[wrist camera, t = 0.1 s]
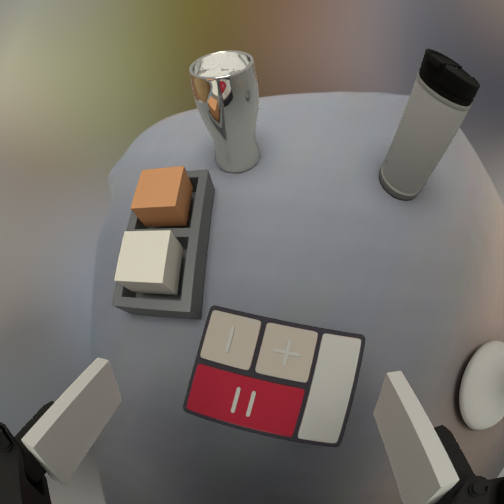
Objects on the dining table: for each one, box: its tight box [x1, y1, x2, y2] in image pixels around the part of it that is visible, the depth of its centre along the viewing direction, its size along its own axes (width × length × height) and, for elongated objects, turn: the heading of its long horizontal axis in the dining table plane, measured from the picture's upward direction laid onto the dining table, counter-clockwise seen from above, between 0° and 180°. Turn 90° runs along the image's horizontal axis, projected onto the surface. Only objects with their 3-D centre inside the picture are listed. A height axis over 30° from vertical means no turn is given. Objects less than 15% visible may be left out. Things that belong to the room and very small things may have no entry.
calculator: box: [183, 306, 365, 447], centre depth 24 cm, size 11×4×15 cm
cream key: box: [114, 230, 183, 295], centre depth 26 cm, size 5×5×4 cm
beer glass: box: [189, 50, 260, 173], centre depth 30 cm, size 7×7×15 cm
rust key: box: [131, 166, 193, 227], centre depth 29 cm, size 5×5×4 cm
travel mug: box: [379, 49, 480, 200], centre depth 24 cm, size 6×7×20 cm
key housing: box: [112, 170, 215, 319], centre depth 30 cm, size 16×9×4 cm, turn 178°
